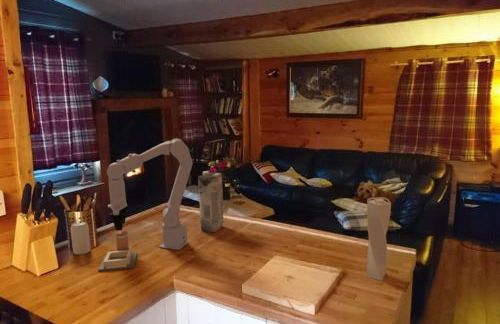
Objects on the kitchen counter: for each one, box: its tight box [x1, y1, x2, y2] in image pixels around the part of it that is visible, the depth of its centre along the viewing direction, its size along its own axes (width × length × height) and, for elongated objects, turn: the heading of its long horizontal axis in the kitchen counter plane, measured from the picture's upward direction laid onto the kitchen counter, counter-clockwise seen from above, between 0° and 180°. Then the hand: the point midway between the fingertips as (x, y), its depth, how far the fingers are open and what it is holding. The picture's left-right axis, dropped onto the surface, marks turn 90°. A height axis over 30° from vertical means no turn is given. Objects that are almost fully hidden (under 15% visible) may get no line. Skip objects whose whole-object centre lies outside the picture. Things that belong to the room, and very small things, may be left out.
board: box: [98, 249, 138, 272], centre depth 137 cm, size 12×12×3 cm
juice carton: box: [197, 170, 224, 233], centre depth 168 cm, size 9×10×27 cm
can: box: [70, 220, 91, 256], centre depth 147 cm, size 6×6×12 cm
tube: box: [115, 229, 130, 251], centre depth 147 cm, size 4×4×8 cm
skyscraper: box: [365, 196, 392, 282], centre depth 120 cm, size 8×8×28 cm
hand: (120, 226), depth 145 cm, fingers open, 7 cm apart
